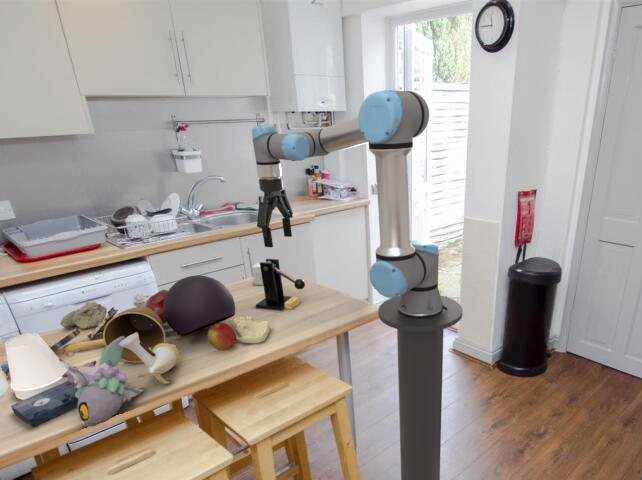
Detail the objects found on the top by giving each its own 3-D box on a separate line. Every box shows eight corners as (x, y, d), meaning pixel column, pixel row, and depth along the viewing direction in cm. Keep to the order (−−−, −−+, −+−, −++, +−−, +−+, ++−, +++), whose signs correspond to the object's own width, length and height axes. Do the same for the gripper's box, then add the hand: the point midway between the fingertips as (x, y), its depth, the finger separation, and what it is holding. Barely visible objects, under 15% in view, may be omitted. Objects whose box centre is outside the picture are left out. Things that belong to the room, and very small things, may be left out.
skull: (183, 300, 161) (181, 314, 163) (141, 286, 160) (140, 301, 162) (172, 308, 154) (171, 322, 157) (128, 294, 153) (128, 309, 156)
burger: (108, 309, 134) (131, 324, 138) (116, 303, 145) (138, 317, 148) (80, 340, 134) (105, 355, 137) (91, 332, 144) (113, 346, 148)
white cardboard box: (259, 279, 186) (256, 262, 183) (274, 279, 186) (271, 262, 182) (254, 285, 181) (251, 267, 177) (269, 284, 180) (266, 267, 177)
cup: (-24, 350, 106) (2, 398, 113) (21, 354, 104) (45, 402, 111) (23, 326, 116) (44, 371, 123) (64, 329, 114) (84, 374, 121)
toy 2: (86, 436, 99) (61, 377, 92) (75, 404, 110) (52, 350, 103) (156, 410, 107) (137, 354, 100) (139, 383, 118) (121, 331, 111)
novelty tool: (174, 328, 149) (64, 350, 133) (172, 318, 148) (60, 340, 132) (180, 338, 143) (65, 362, 127) (178, 328, 142) (62, 352, 126)
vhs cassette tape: (13, 414, 107) (32, 428, 102) (8, 404, 105) (27, 417, 100) (95, 380, 120) (115, 390, 115) (92, 370, 119) (112, 380, 114)
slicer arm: (304, 289, 159) (308, 281, 157) (300, 292, 156) (303, 284, 154) (267, 266, 159) (270, 258, 157) (262, 269, 156) (265, 261, 154)
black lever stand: (295, 299, 166) (289, 257, 159) (281, 310, 157) (274, 266, 150) (270, 297, 168) (263, 256, 161) (256, 307, 160) (248, 264, 153)
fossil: (66, 297, 144) (53, 324, 145) (97, 313, 144) (83, 340, 146) (95, 296, 158) (83, 320, 159) (123, 311, 159) (110, 335, 160)
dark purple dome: (174, 340, 143) (151, 295, 141) (235, 316, 152) (215, 273, 150) (175, 336, 125) (149, 283, 123) (244, 309, 134) (221, 259, 132)
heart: (145, 292, 152) (161, 283, 147) (167, 302, 158) (183, 294, 152) (133, 322, 147) (149, 315, 141) (156, 333, 152) (172, 325, 147)
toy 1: (29, 366, 128) (43, 359, 123) (24, 362, 127) (38, 355, 122) (71, 337, 138) (86, 329, 133) (67, 333, 138) (82, 325, 132)
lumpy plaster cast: (237, 329, 145) (236, 312, 142) (271, 332, 146) (271, 314, 143) (228, 344, 135) (227, 326, 132) (264, 346, 136) (264, 328, 134)
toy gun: (136, 324, 125) (168, 369, 131) (104, 351, 106) (143, 402, 111) (169, 308, 126) (199, 353, 131) (143, 332, 106) (180, 384, 112)
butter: (299, 302, 163) (299, 297, 163) (291, 309, 158) (291, 303, 157) (293, 301, 164) (292, 296, 163) (284, 308, 159) (284, 303, 158)
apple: (240, 331, 138) (232, 316, 132) (237, 354, 134) (229, 340, 127) (215, 332, 138) (206, 317, 131) (211, 355, 134) (201, 341, 127)
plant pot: (110, 297, 133) (97, 314, 119) (166, 293, 137) (160, 310, 124) (120, 344, 138) (109, 366, 124) (174, 339, 143) (169, 359, 129)
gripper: (278, 172, 161) (286, 231, 171) (238, 183, 139) (249, 250, 149) (298, 172, 159) (304, 233, 169) (260, 184, 138) (270, 252, 148)
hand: (278, 241), depth 159 cm, fingers open, 13 cm apart
